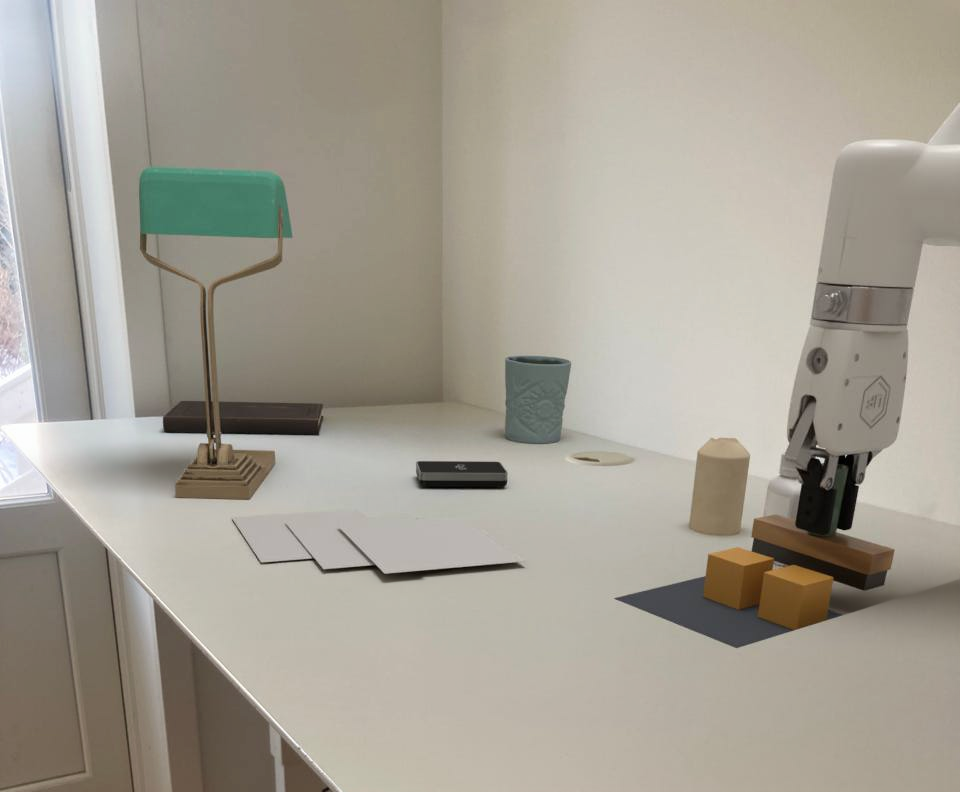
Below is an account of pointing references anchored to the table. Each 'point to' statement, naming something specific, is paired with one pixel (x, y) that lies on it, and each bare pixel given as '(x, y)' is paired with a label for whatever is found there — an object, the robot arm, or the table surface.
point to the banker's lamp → (214, 212)
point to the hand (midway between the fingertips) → (823, 527)
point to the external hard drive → (461, 474)
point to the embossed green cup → (535, 397)
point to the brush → (824, 547)
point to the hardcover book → (246, 417)
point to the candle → (719, 487)
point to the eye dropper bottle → (783, 493)
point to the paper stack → (372, 541)
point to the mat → (707, 613)
